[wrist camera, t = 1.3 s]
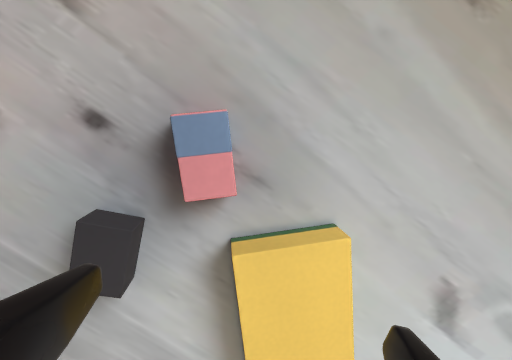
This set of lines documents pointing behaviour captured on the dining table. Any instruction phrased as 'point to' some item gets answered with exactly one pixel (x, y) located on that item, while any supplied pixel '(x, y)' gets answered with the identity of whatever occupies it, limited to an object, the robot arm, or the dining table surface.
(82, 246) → the grey eraser
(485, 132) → the dining table surface
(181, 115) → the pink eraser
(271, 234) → the sponge
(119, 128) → the dining table surface
